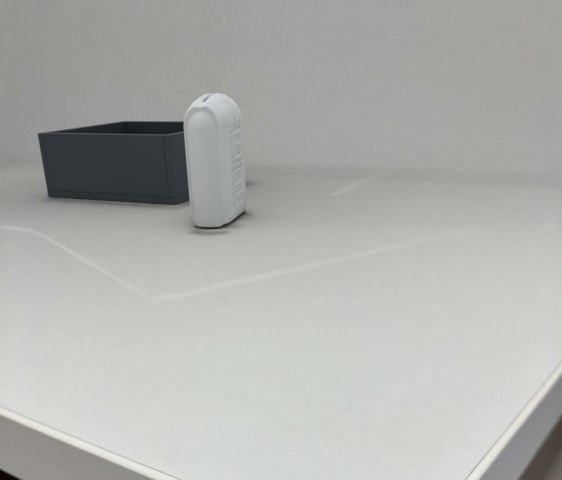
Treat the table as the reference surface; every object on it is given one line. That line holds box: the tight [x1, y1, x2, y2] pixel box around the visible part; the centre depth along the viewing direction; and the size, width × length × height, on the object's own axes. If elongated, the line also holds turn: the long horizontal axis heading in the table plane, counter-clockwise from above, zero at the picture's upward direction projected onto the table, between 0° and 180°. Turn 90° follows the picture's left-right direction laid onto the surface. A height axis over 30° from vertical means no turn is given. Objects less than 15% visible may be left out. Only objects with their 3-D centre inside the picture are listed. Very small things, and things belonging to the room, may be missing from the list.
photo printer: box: [183, 92, 248, 228], centre depth 71 cm, size 10×4×12 cm, turn 169°
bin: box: [37, 120, 190, 206], centre depth 91 cm, size 20×18×8 cm
